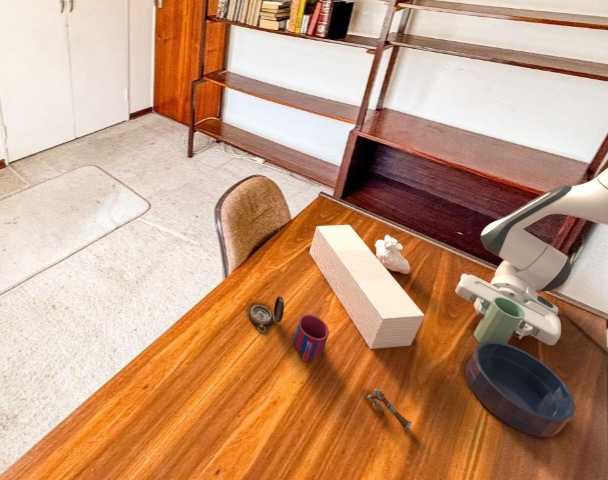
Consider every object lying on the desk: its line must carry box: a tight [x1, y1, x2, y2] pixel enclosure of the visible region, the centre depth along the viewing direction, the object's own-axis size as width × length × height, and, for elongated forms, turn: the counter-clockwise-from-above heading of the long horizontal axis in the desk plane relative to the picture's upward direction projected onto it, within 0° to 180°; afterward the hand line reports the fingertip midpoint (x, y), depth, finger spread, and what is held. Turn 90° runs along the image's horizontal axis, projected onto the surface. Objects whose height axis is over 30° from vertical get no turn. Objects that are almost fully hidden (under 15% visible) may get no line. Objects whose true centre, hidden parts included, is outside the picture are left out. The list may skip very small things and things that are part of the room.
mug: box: [293, 314, 330, 362], centre depth 93 cm, size 7×10×7 cm
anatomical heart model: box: [374, 234, 411, 275], centre depth 119 cm, size 12×8×11 cm
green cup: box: [473, 297, 525, 345], centre depth 97 cm, size 6×6×12 cm
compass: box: [248, 295, 285, 333], centre depth 100 cm, size 8×8×7 cm
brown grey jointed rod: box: [365, 388, 413, 431], centre depth 82 cm, size 2×8×4 cm, turn 46°
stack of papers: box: [309, 224, 426, 350], centre depth 108 cm, size 32×11×11 cm, turn 6°
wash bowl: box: [464, 342, 576, 438], centre depth 86 cm, size 16×16×6 cm
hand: (498, 324), depth 96 cm, fingers closed on green cup, 6 cm apart
